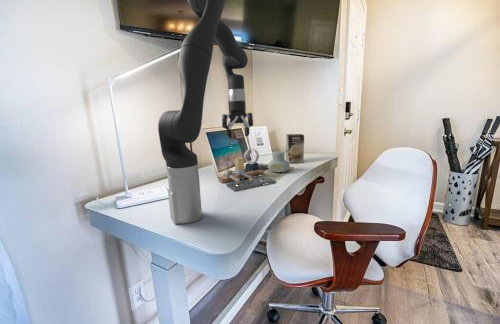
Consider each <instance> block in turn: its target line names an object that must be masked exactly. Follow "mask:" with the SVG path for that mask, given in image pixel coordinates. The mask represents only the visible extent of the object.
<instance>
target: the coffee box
mask: <svg viewBox="0 0 500 324" xmlns="http://www.w3.org/2000/svg"><path fill="white" fill-rule="evenodd" d="M285 136H286V137H285V138H286V139H285V160H286V161H287V162H288V163H289V165H290V164H304V163H305V162H304V161H305V160H304V158H305V157H304V156H305V151H304V150H305V135H304V134H302V133H293V134H290V133H289V134H288V133H287V134H286V135H285Z"/></svg>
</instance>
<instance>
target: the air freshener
mask: <svg viewBox="0 0 500 324" xmlns="http://www.w3.org/2000/svg"><path fill="white" fill-rule="evenodd" d="M290 167H291V166H290V164H289V163H288V162H287V161H286V152H284V151H281V150H280V151H279V150H277V151H273V152H272V160H270V161H269V162H268V164H267V168H268V169H269V170H270V171H271V172H273V173H275V172H282V173H284V172H287V171H288V170H289V168H290Z"/></svg>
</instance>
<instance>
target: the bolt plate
mask: <svg viewBox="0 0 500 324" xmlns="http://www.w3.org/2000/svg"><path fill="white" fill-rule="evenodd" d="M265 183H272V184H276V180H275V179H273V178H270V177H268V176H265V175H264V176H259V177H254V178H252V181H250V179H244V180H240V184H238V182H237V181H233V182H228V183H225V185H226V187H227V188H228V189H230V190H231V191H233V192H239V191H243V190H244V191H245V190H247V189H252V188H257V187H261V186H262V185H263V184H265ZM263 186H264V185H263ZM263 186H262V187H263Z"/></svg>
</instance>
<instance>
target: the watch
mask: <svg viewBox="0 0 500 324" xmlns="http://www.w3.org/2000/svg"><path fill="white" fill-rule="evenodd" d="M252 151H253V152H254V153H255V158H254V161H250V160H249V156H250V155H251V154H252ZM243 158H244V162H246V164H245V170H246V169H249V170H254V171H256V170H258V169H259V163H258V160H259V158H260V155H259V152H258V150H257V149H255V148H247V150H246V151H245V152H244V154H243ZM257 168H258V169H257ZM255 169H256V170H255ZM249 170H248V171H249Z"/></svg>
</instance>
